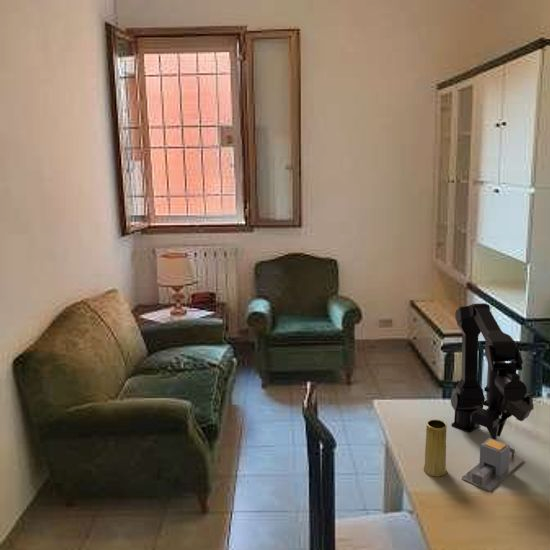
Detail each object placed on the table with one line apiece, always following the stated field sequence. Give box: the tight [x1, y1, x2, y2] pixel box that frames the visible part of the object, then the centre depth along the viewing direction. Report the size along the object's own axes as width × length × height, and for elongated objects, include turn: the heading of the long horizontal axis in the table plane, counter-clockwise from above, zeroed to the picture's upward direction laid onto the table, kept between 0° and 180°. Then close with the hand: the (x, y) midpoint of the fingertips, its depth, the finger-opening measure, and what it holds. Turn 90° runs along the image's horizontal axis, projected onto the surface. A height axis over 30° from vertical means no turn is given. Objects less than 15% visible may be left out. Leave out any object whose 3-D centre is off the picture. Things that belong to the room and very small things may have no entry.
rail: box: [461, 447, 525, 493], centre depth 156 cm, size 8×20×3 cm, turn 133°
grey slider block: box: [478, 437, 511, 476], centre depth 155 cm, size 6×5×7 cm
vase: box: [423, 419, 447, 477], centre depth 155 cm, size 6×6×14 cm
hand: (495, 437), depth 154 cm, fingers closed
